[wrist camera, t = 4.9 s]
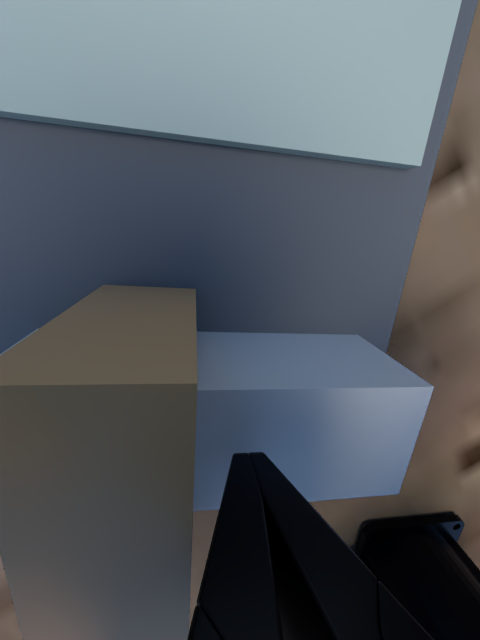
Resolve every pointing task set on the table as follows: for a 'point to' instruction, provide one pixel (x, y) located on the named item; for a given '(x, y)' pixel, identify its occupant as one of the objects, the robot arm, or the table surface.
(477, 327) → the table surface
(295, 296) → the mat
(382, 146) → the pad
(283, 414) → the pale blue rectangular bar
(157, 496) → the beige notched block
